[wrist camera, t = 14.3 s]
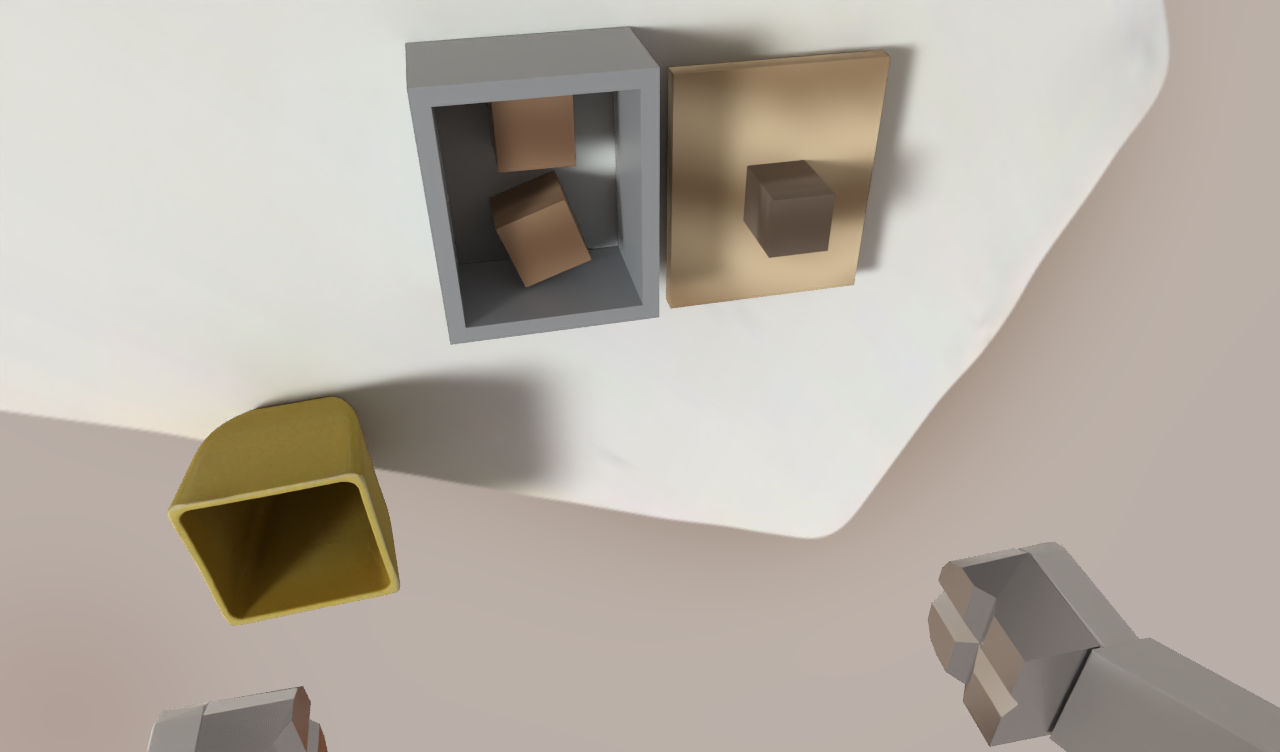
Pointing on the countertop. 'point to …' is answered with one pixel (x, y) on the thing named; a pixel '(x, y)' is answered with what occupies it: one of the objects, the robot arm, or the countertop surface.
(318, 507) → the flower pot
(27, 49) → the countertop surface
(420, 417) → the countertop surface
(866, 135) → the lid
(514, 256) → the block
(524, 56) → the box
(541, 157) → the block
